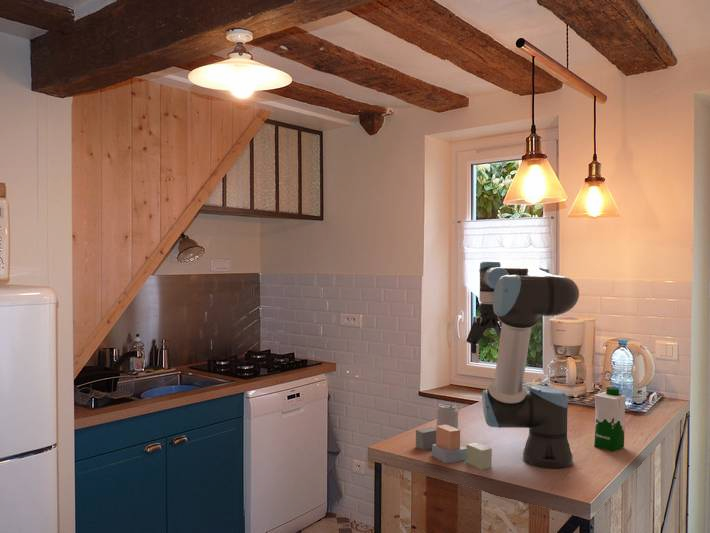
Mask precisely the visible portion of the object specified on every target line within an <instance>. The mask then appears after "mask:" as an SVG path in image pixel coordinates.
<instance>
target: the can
mask: <svg viewBox="0 0 710 533" xmlns="http://www.w3.org/2000/svg"><path fill="white" fill-rule="evenodd" d="M445 424H446V425H449V426H451V427H454V428H457V429H459V409H458V408H457V405H456V404H454V403H440V404H438V407H437V409H436V426H440V425H445Z"/></svg>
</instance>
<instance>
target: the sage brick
mask: <svg viewBox="0 0 710 533" xmlns="http://www.w3.org/2000/svg"><path fill="white" fill-rule="evenodd" d="M466 449H467V452H466V460H465V462H467V463H466V464H468V463H469V464H468V465H470V464H471V465H470V466H472V465H473V466H472V467H475V468H478V469H479V470H486V469H490V468H492V465H493V464H492V463H493V462H492V461H493V460H492V459H493V458H492V454H493V453H492V451H493V448H491V447H489V446H487V445H484V444H482V443H479V442H476V441H475V442H471V443H466Z"/></svg>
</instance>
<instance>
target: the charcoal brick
mask: <svg viewBox="0 0 710 533" xmlns="http://www.w3.org/2000/svg"><path fill="white" fill-rule="evenodd" d="M432 444H436V427H433V426H430V427H424V428H420V429H419V428H417V429H415V448H416V449H419V450H421V451H428V450H432Z"/></svg>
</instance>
